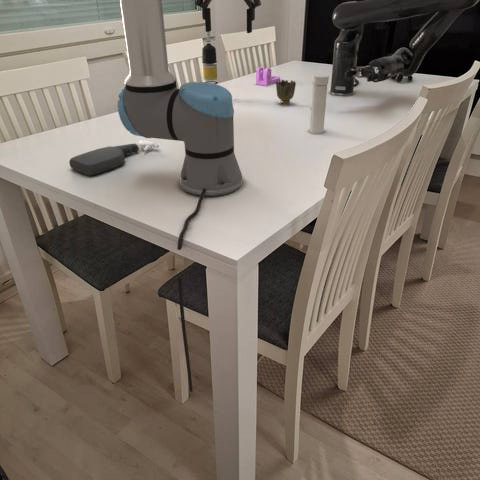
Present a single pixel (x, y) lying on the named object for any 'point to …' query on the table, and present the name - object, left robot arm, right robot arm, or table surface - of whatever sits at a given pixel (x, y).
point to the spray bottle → (106, 157)
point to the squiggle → (400, 76)
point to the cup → (285, 91)
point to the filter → (209, 61)
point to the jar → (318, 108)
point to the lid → (320, 79)
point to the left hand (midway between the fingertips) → (228, 32)
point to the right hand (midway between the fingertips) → (356, 76)
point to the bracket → (265, 77)
